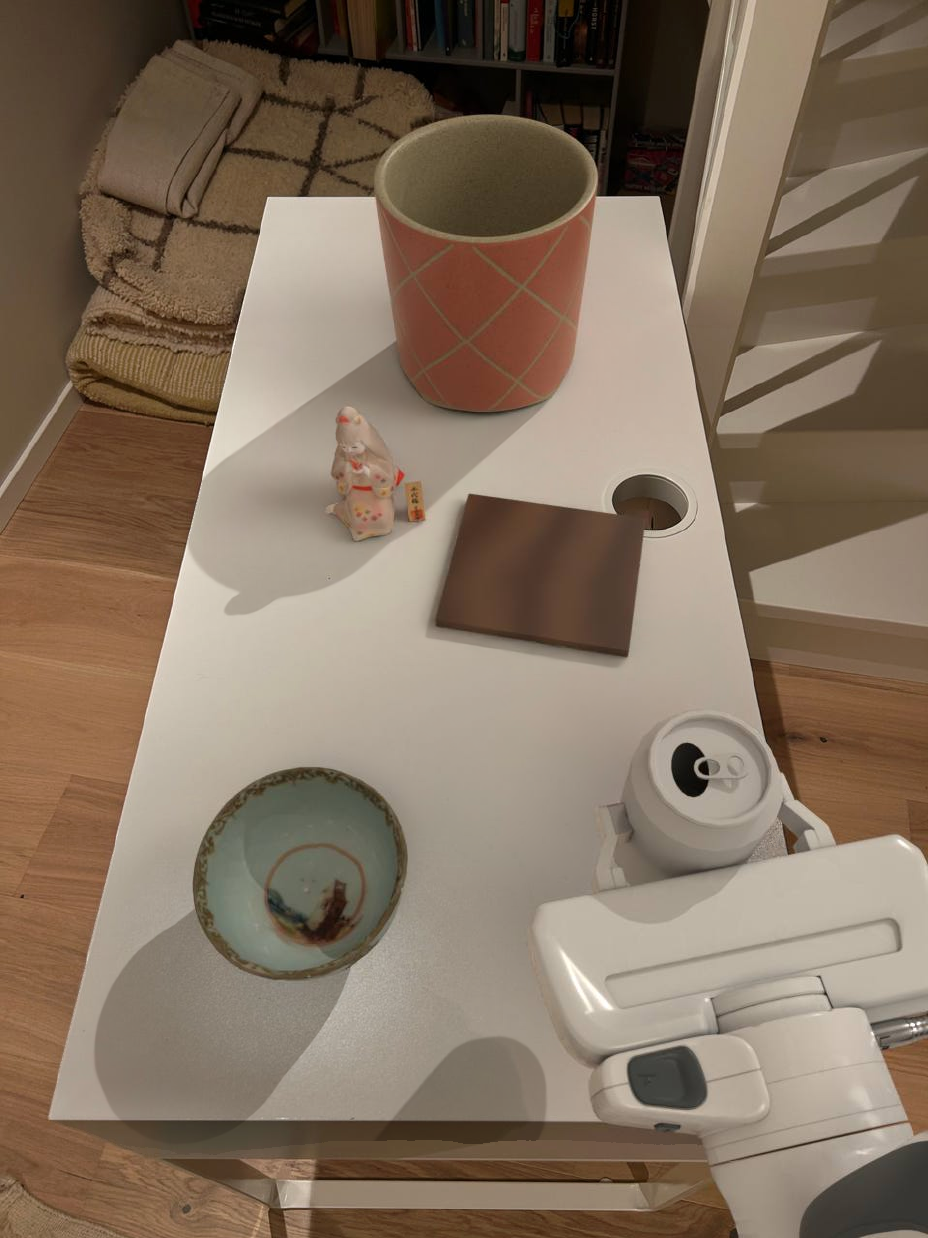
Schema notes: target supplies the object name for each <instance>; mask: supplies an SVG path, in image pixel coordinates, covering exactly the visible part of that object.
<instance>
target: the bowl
mask: <svg viewBox="0 0 928 1238" xmlns="http://www.w3.org/2000/svg"><path fill="white" fill-rule="evenodd" d="M408 860H409V856H408V846H407V842H406V839H405V834H404V831H403V828H402V825H401V823H400V821H399V818H398V816H397V814H396V812H395V811H394V809H393V807H392V806H391V805H390V803H389V802H388V801H387V800H386V799H385V798H384V796H382V794H380V793H379V791H377V790H376V789H375V788H374V787H372V785H369V784H368V783H366V782H365V781H363V780H362V779H360V778H357V777H356V776H353V775H350V774H348V773H347V772H343V771H341V770H337V769H333V768H328V767H320V766H298V767H293V768H287V769H283V770H279V771H278V770H277V771H274V772H272V773H269V774H267V775H265V776H262V777H261V778H258V779H256V780H254V781H252V782H251V783H249V784H248V785H247V786H245V787H244V788H242V789H241V790H240V791H238V792H237V793H236V794H235V795H233V796H232V797H231V798H230V799H229V800H228V801H227V802H226V803H225V804H224V805H223V807H222V808H221V809H220V810H219V812H218V813H217V814H216V815H215V817H214V818H213V820H212V821H211V823H210V824H209V826H208V827H207V829H206V832H205V833H204V835H203V838H202V840H201V842H200V845H199V847H198V851H197V854H196V857H195V862H194V866H193V876H192V895H193V896H192V897H193V904H194V910H195V913H196V916H197V919H198V922H199V925H200V926H201V928H202V930H203V932H204V934H205V936H206V937H207V939H208V941H209V942H210V943H211V944H212V946H213V947H214V949H215V950H216V951H217V952H218V953H219V954H220V955H221V956H222V957H224V959H225V960H227V961H228V963H230V964H231V965H233V966H235V967H236V968H238V969H239V970H241V971H243V972H245V973H248V974H250V975H253V976H257V977H260V978H262V979H263V978H264V979H268V980H273V981H288V982H307V981H314V980H319V979H323V978H327V977H331V976H334V975H336V974H338V973H341V972H344V971H346V970H348V969H350V968H351V967H352V966H353V965H355V964H357V963H358V962H359V961H360V960H361V959H363V958H364V957H366V956H367V955H368V954H370V952H371V951H372V950H373V949H374V948H375V947H376V946H377V945H378V944H379V942H381V940H382V938H383V937H384V936H385V935H386V933H387V932H388V930H389V928H390V926H391V925H392V924H393V921H394V919H395V917H396V914H397V912H398V909H399V906H400V905H401V899H402V896H403V892H404V891H403V890H404V887H405V882H406V879H407V873H408Z"/></svg>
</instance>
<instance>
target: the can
mask: <svg viewBox="0 0 928 1238" xmlns="http://www.w3.org/2000/svg"><path fill="white" fill-rule="evenodd" d="M627 771H628V772H627V775H626V778H625V780H624V781H625V783H624V784H623V788H622V791H621V794H620V799H619V801H618V803H621V802H624V804H625V807H626V811H627V814H626V816H627V817H628V819H629V822H630V824H631V825H632V827H633V834H632V836H630V837H631V840H630V842H629V843H625V844H620V845H616V847H615V851H614V855H613V859H614V863H615V865H616V867H620V868H622V870H623V873H624V876H625V880H626V883H627V884H629V885H630V886H634V885H639V884H644V883H649V882H654V881H659V880H664V879H669V878H674V877H679V876H684V875H689V874H694V873H699V872H704V871H709V870H714V869H719V868H725V867H730V866H735V865H740V864H745V863H748V861H749V860H750V858H751V857H752V855H753V854H754V853H755V851H756V850H757V848H758V847H759V846H760V844H761V843H762V841H763V840H764V838H765V837H766V835H767V834H768V832H769V831H770V830H771V828H773V827H772V826H773V825H774V824H775V822H776V820H777V819H778V818H777V815H778V812H779V810H780V807H781V804H782V802H783V796H782V777H781V774H780V772H781V771H780V768H779V766H778V762H777V759H776V758H775V756H774V754H773V751H772V749H771V748H770V746H769V745H768V743H767V742H766V740H765V739H764V737H763V736H762V735H761V733H759V732H758V731H757V730H756V729H755V728H753V727H752V726H751V725H749V724H748V723H747V722H746V721H745V720H743V719H741V718H738V717H736V716H734V715H732V714H729V713H726V712H724V711H717V710H712V709H698V710H690V711H684V712H683V713H678V714H674V715H672V716H670V717H668V718H666V719H663V720H661V721H658V722H657V723H655V724H654V726H652V728H650V729H649V730H648V732H646V733H645V734H644V735H643V736H642V737H641V739H640V741H639V743H638V745H637V747H636V749H635V751H634V753H633V755H632V758H631V762H630V765H629V768H628V770H627Z"/></svg>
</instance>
